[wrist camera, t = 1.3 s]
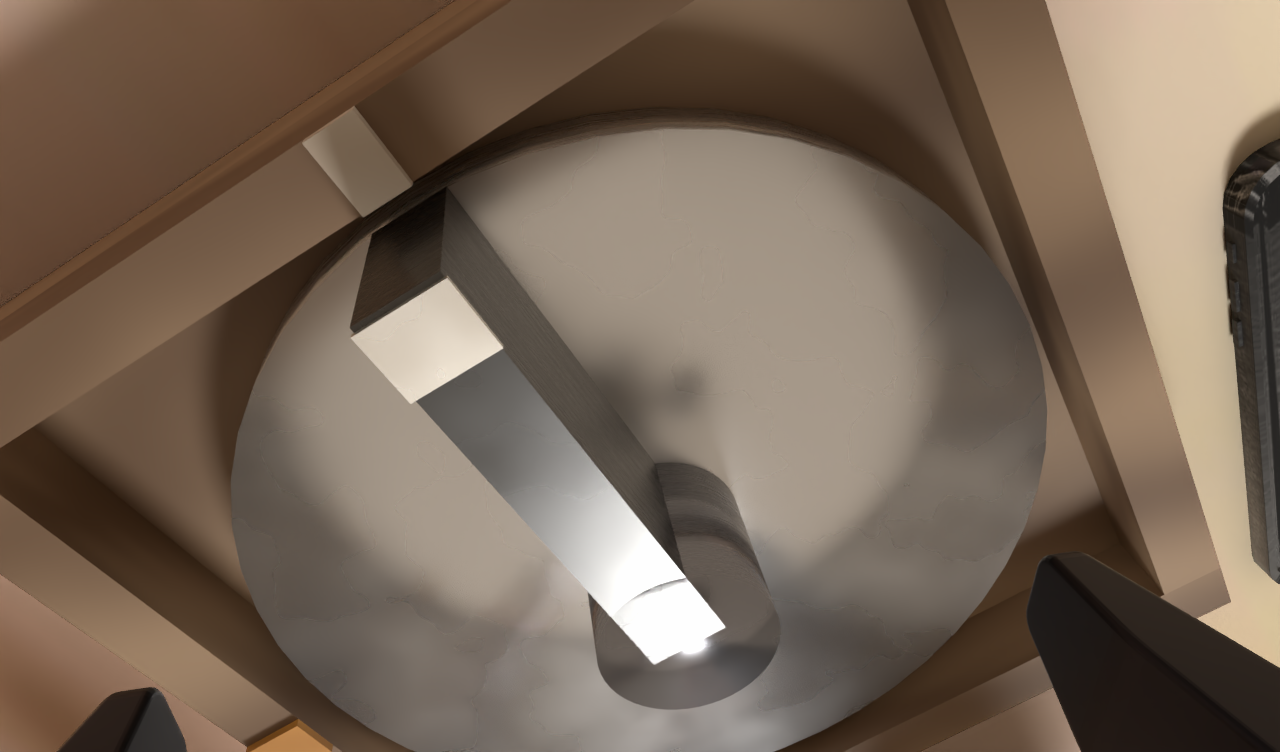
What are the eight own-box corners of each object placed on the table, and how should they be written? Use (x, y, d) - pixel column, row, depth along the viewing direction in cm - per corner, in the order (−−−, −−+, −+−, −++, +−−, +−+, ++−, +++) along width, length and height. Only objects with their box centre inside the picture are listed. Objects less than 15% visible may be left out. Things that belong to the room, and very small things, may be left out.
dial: (1100, 542, 26) (1223, 690, 21) (540, 823, 28) (552, 1003, 24) (840, -93, 16) (966, -54, 12) (48, 417, 19) (-72, 593, 15)
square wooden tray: (1150, 515, 28) (1236, 607, 25) (520, 832, 31) (525, 948, 28) (867, -279, 16) (959, -296, 13) (-73, 356, 20) (-176, 461, 17)
